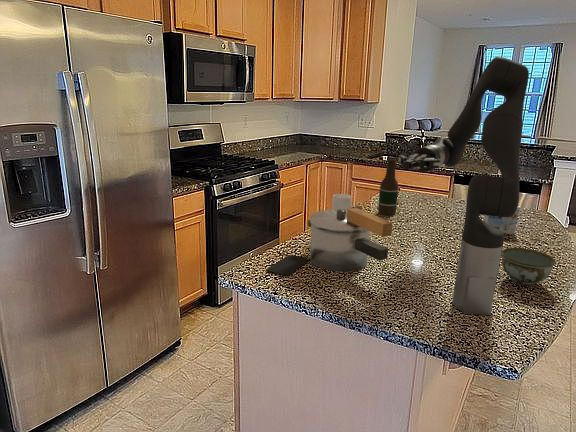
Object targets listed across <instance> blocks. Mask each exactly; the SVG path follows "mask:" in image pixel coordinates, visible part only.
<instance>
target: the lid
mask: <svg viewBox="0 0 576 432" xmlns="http://www.w3.org/2000/svg"><path fill="white" fill-rule="evenodd" d="M309 218H310V219H309V220H310V223H311V225H312V226H314V227H316V228H318V229H321V230H325V231H329V232H336V233H357V232H363V231H366V230H368V231H370V233H373V234H375V235H377V236H378V237H382V238H384V237H389V236H392V234H393V222H392V221H389V220H387V219H385V218H382V217H380V216H377V215H375V214H372V213H370V212H368V211H365V210H363V209H362V210H361V209H358V208H354V207H351V208H350V209H347V210H342V209H339V210H332V209H325V210H324V209H323V210H319V211H315V212H313V213H312V214H310V217H309Z"/></svg>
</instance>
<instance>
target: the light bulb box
mask: <svg viewBox="0 0 576 432" xmlns="http://www.w3.org/2000/svg"><path fill="white" fill-rule="evenodd" d="M519 213H520V207H519V206H518V207H517V210H516V212H515V214H514V215H513V216H511V217H497V216H489V215H484V220H483V221H484V222H485V223H487V224H489V225H490V226H493V227H495V228H497V229H499V230H500V231H502V232H503V234H507V235H508V234H509V235H515V232H516V228H517V222H518V217H519V215H520V214H519Z"/></svg>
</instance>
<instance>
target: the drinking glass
mask: <svg viewBox="0 0 576 432" xmlns="http://www.w3.org/2000/svg"><path fill="white" fill-rule="evenodd" d="M331 201H332V203H331V210H339V209H342V210H347V209H350V208H352V195H350V194H346V193H336V194H335V193H334V194H333V195H332V200H331Z"/></svg>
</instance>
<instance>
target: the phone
mask: <svg viewBox="0 0 576 432" xmlns="http://www.w3.org/2000/svg"><path fill="white" fill-rule="evenodd" d="M308 262H310V258H307V257H303V256H298V255H294V254H289V255H286V257H284V258H282V259H280V260H279V261H277V262H275V263H274V264H273V265H271V266H270V267H268V268H267V269H266V272H267V273H270V274H274V275H276V276H277V275H278V276H281V277H289V276H291V275H292V274H294V273H295V272H297V270H299V269H301V268H302V267H304V266H305V264H307V263H308Z"/></svg>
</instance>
